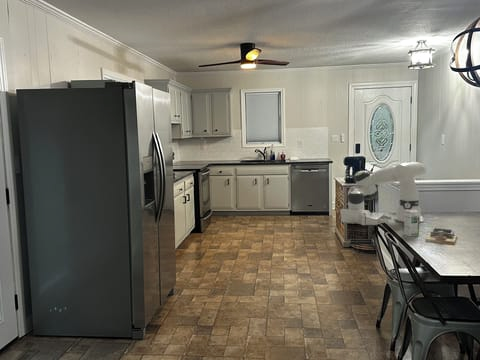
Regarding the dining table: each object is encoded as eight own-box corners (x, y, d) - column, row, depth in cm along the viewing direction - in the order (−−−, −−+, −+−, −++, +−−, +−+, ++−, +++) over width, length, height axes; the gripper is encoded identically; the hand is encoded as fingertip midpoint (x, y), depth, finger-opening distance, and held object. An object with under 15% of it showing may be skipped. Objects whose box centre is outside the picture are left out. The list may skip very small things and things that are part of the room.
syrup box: (410, 236, 239) (411, 211, 237) (403, 234, 245) (404, 209, 243) (418, 235, 241) (419, 210, 239) (412, 233, 246) (412, 209, 245)
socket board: (429, 234, 244) (430, 224, 243) (456, 237, 237) (457, 227, 236) (425, 241, 229) (425, 231, 228) (454, 244, 222) (454, 234, 221)
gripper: (370, 219, 264) (393, 221, 257) (361, 225, 247) (385, 228, 240) (370, 209, 264) (393, 211, 256) (361, 215, 246) (385, 217, 239)
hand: (389, 219), depth 248 cm, fingers open, 8 cm apart
